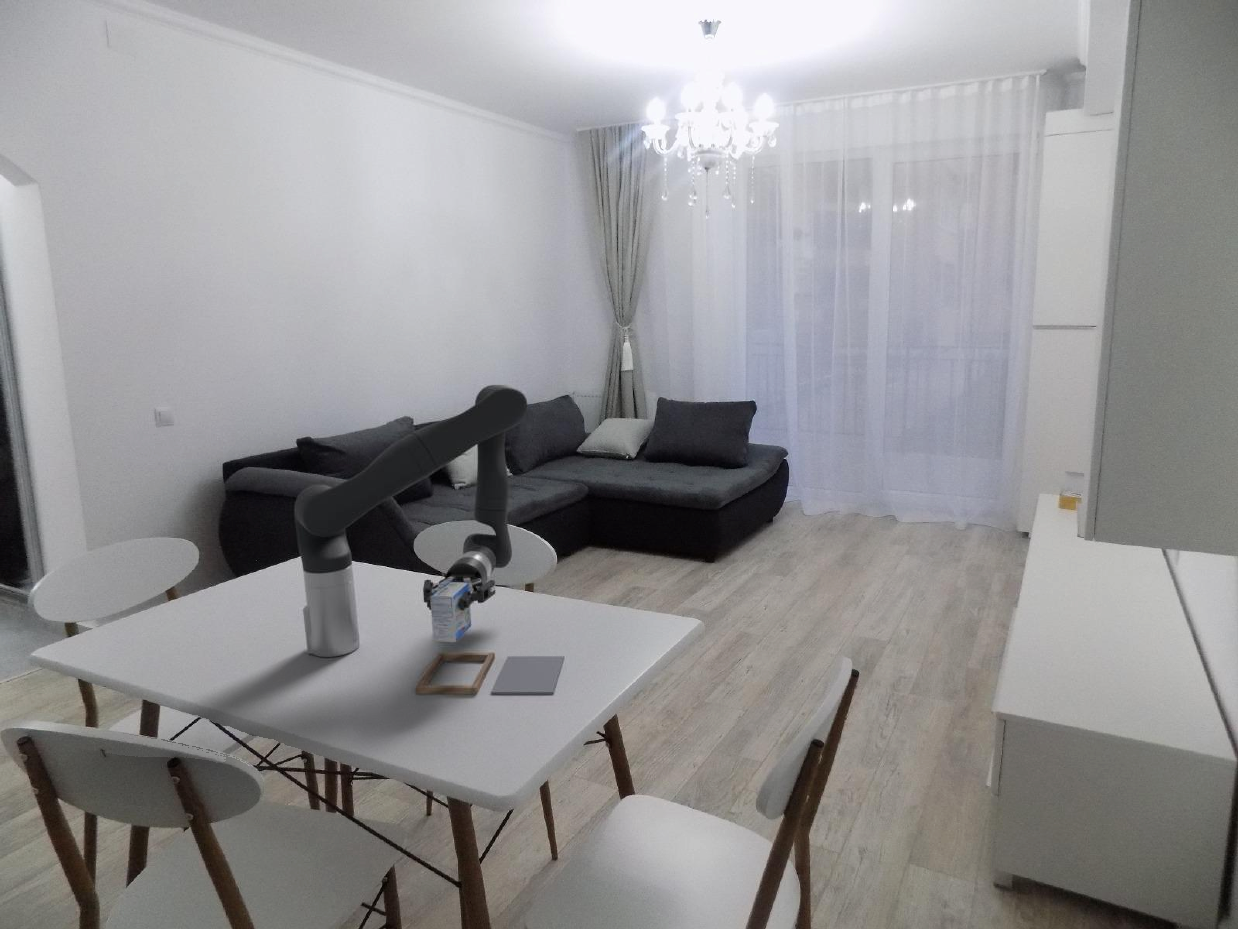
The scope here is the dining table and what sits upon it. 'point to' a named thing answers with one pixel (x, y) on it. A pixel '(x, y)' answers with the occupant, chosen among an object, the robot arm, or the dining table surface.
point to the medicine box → (449, 613)
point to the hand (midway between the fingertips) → (446, 605)
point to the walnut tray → (455, 689)
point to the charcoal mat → (529, 675)
